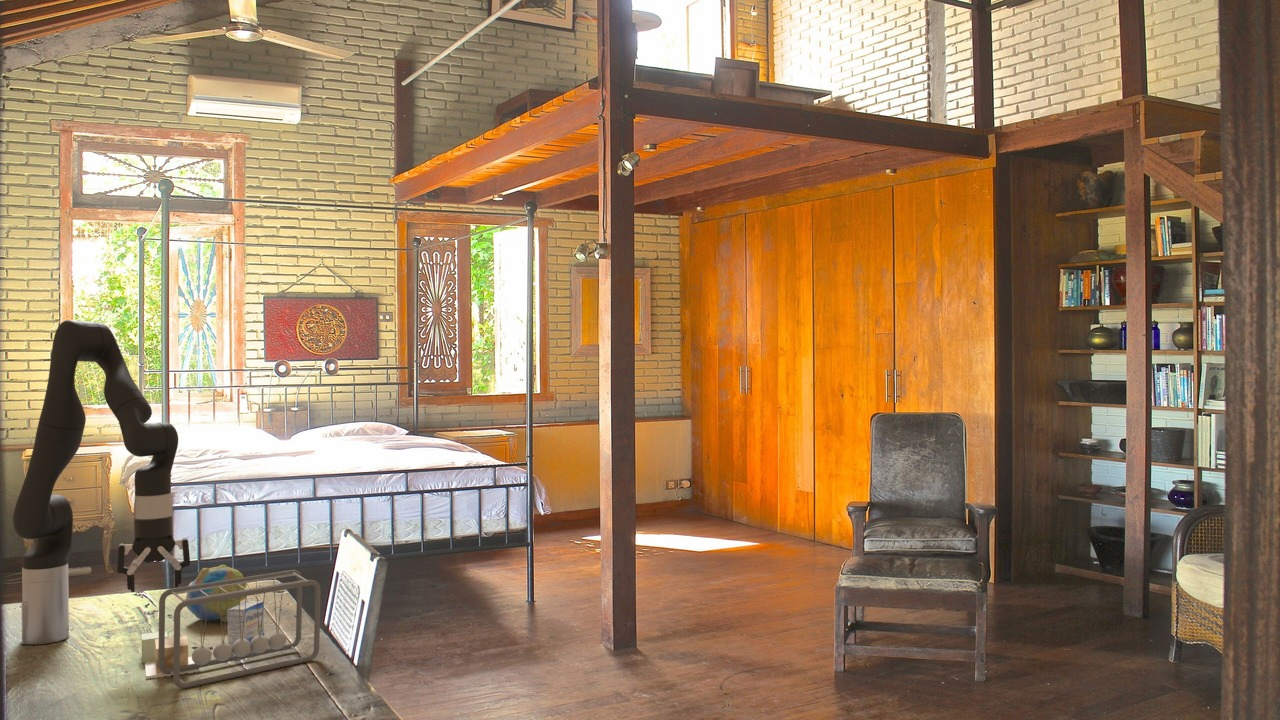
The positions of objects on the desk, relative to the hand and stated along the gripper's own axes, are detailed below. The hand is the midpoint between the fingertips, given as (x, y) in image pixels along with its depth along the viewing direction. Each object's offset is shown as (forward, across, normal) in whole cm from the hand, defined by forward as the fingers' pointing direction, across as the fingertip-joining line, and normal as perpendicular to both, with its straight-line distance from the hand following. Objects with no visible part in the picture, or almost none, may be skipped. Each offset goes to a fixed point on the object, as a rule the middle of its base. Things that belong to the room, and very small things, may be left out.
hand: (154, 589), depth 221 cm
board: (+15, -3, +10) cm, 18 cm away
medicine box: (+15, -19, -3) cm, 24 cm away
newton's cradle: (+15, -16, +17) cm, 28 cm away
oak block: (+14, -3, +10) cm, 18 cm away
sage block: (+15, 0, 0) cm, 15 cm away
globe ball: (+15, -16, -27) cm, 35 cm away
